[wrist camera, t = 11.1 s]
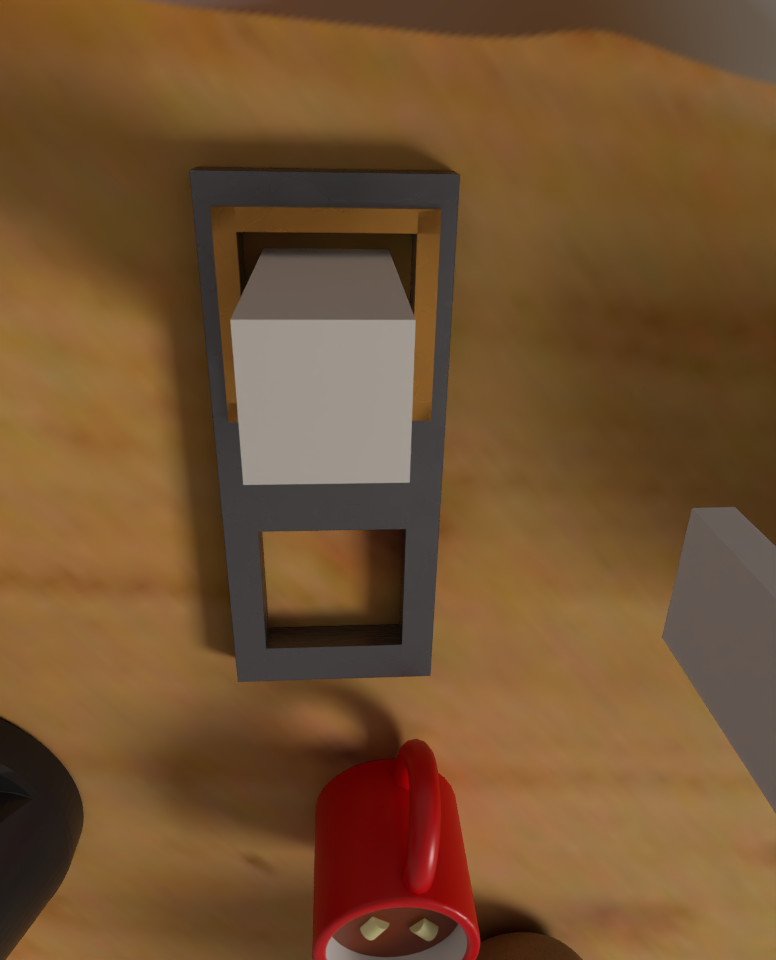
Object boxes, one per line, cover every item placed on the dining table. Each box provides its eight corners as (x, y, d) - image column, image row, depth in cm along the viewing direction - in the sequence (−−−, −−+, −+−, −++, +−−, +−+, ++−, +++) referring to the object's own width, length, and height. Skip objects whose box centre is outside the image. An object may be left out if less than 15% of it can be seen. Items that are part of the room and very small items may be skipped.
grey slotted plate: (241, 660, 36) (237, 684, 34) (196, 166, 26) (188, 170, 24) (426, 654, 36) (430, 678, 35) (453, 170, 26) (460, 175, 25)
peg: (270, 368, 29) (243, 485, 20) (263, 248, 27) (230, 319, 18) (386, 368, 30) (409, 482, 21) (388, 249, 27) (415, 319, 19)
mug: (485, 706, 38) (520, 841, 31) (441, 859, 44) (462, 1004, 37) (334, 695, 37) (335, 832, 30) (307, 853, 43) (303, 1001, 36)
